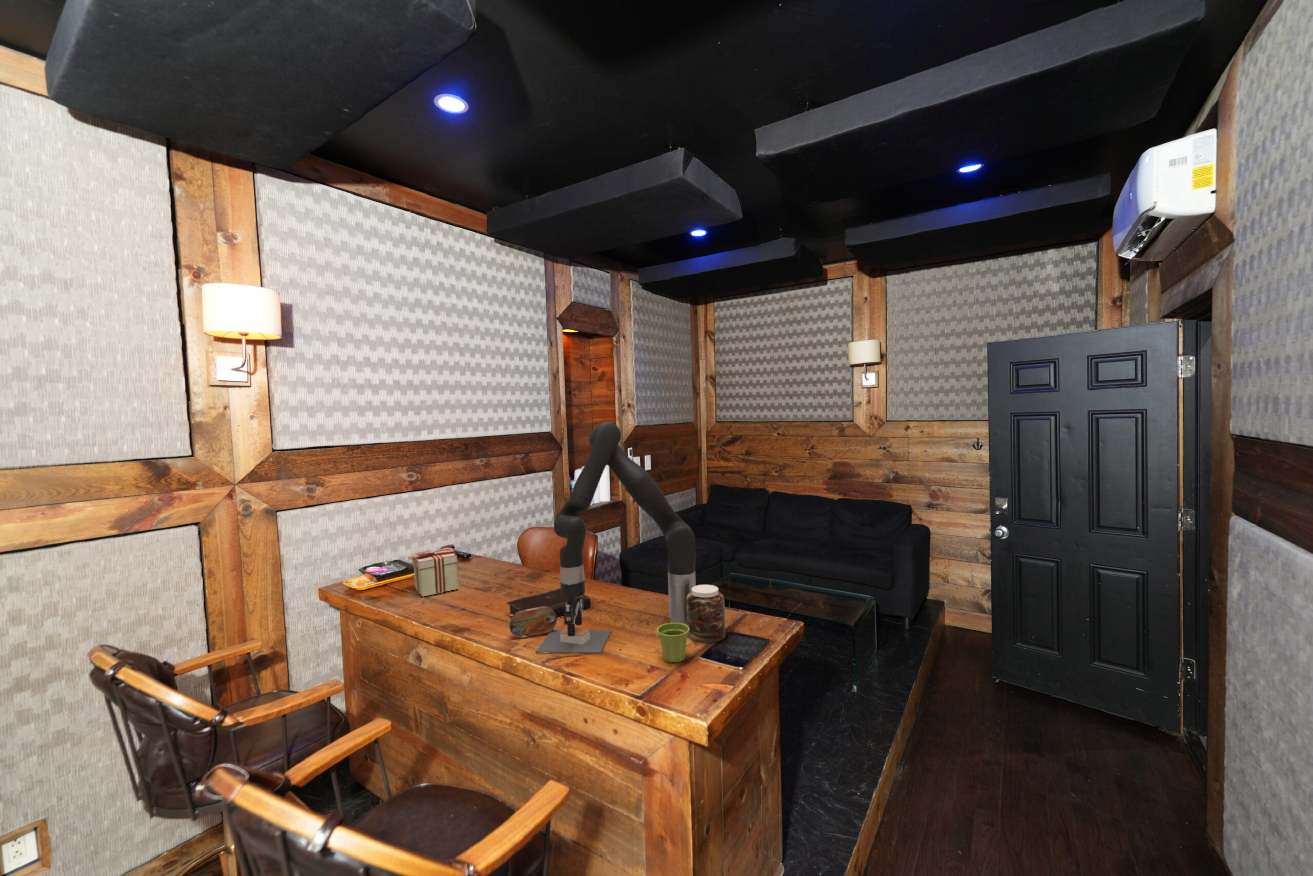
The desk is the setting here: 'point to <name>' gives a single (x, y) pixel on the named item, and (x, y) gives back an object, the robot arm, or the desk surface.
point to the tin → (533, 622)
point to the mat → (591, 646)
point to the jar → (706, 614)
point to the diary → (545, 602)
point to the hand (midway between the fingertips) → (575, 630)
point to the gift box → (435, 571)
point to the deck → (579, 637)
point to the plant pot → (673, 641)
